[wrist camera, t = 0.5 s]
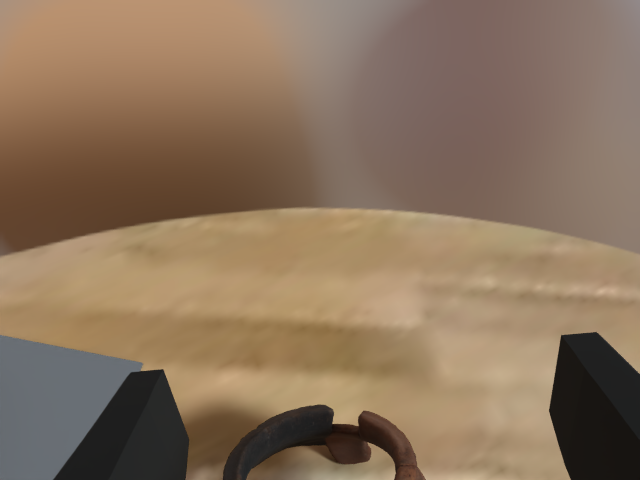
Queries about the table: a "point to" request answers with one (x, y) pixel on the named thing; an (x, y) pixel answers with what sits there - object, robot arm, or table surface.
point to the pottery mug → (323, 441)
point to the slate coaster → (50, 403)
